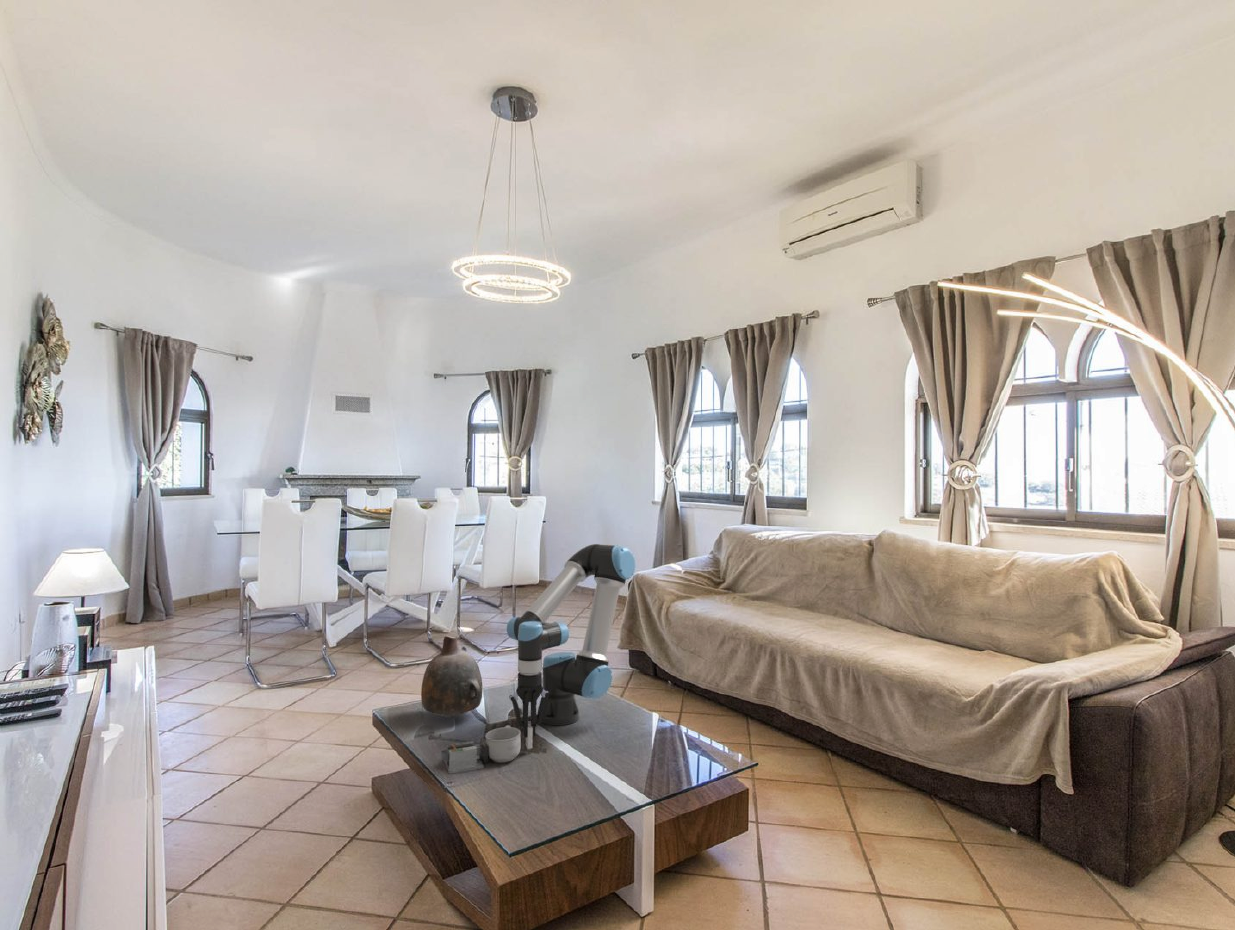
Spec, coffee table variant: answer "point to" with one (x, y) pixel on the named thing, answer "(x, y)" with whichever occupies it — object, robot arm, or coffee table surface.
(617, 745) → the coffee table surface
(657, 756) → the coffee table surface
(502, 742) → the teacup
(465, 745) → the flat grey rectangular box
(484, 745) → the hammer
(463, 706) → the jug
